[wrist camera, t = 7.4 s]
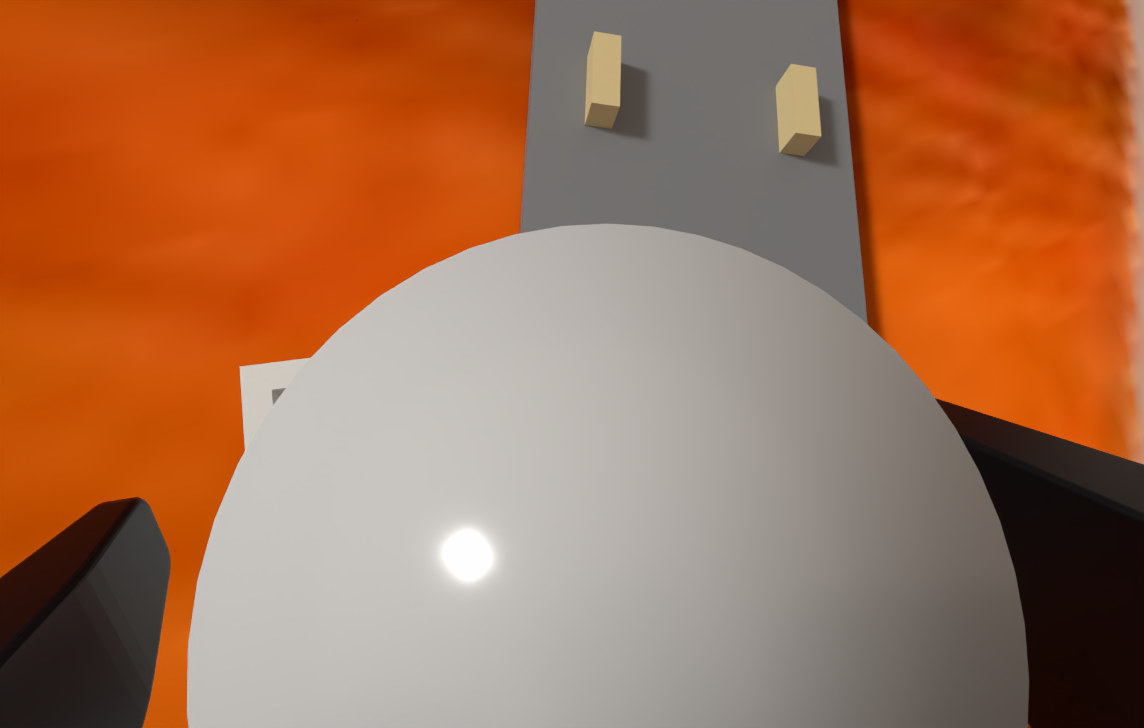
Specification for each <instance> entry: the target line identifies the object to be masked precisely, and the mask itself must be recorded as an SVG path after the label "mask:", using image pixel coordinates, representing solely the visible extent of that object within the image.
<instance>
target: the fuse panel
mask: <svg viewBox="0 0 1144 728" xmlns="http://www.w3.org/2000/svg"><path fill="white" fill-rule="evenodd" d="M590 224H622V225H637V226H652V227H659V228H664V229H669V230H675V231H680V232H685V233H690V234H696V235H700V236H703V237H706V238H710V239H713V240H716V241H719V242H722V243H726V244H729V245H732V246H735V247H738V248H742V249H744V250H746V251H749V252H751V253H753V254H755V255H758V256H760V257H762V258H764V259H767V260H769V261H771V262H773V263H776V264H778V265H780V266H782V267H784V268H786V269H788V270H789V271H791V272H793V273H795V274H796V275H798V276H800V277H801V278H803V279H805V280H806V281H808V282H810V283H812V284H813V285H815V286H817V287H818V288H820V289H822V290H824V291H825V292H826V293H828V294H829V295H830V296H832V297H833V298H834V299H836V300H837V301H838V302H840V303H841V304H842V305H844V306H845V307H846V308H848V309H849V310H850V311H852V312H853V313H854V314H856V315H857V316H858V317H860V318H861V319H862V320H863V321H864V322H865V323H866V324H867V325H868V322H867V311H866V301H865V290H864V280H863V269H862V259H861V248H860V238H859V227H858V216H857V206H856V195H855V185H854V174H853V164H852V153H851V142H850V132H849V121H848V111H847V100H846V90H845V79H844V69H843V58H842V47H841V37H840V26H839V16H838V5H837V0H535V14H534V29H533V44H532V58H531V73H530V87H529V102H528V117H527V131H526V146H525V161H524V175H523V190H522V204H521V219H520V233H526V232H531V231H537V230H542V229H548V228H554V227H559V226H572V225H590Z"/></svg>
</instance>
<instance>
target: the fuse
mask: <svg viewBox="0 0 1144 728" xmlns="http://www.w3.org/2000/svg"><path fill="white" fill-rule="evenodd" d="M1028 700H1029V672H1028V659H1027V646H1026V633H1025V623H1024V617H1023V612H1022V607H1021V601H1020V596H1019V591H1018V585H1017V580H1016V574H1015V570H1014V567H1013V563H1012V560H1011V557H1010V553H1009V550H1008V546H1007V543H1006V540H1005V536H1004V533H1003V530H1002V526H1001V523H1000V520H999V517H998V515H997V513H996V510H995V508H994V506H993V503H992V501H991V498H990V496H989V494H988V491H987V489H986V486H985V484H984V482H983V479H982V477H981V474H980V472H979V470H978V468H977V467H976V465H975V463H974V461H973V459H972V457H971V456H970V454H969V452H968V450H967V448H966V447H965V445H964V443H963V441H962V439H961V437H960V436H959V434H958V432H957V430H956V428H955V427H954V425H953V424H952V422H951V421H950V420H949V418H948V417H947V415H946V414H945V412H944V411H943V409H942V408H941V407H940V405H939V404H938V402H937V401H936V399H935V398H934V396H933V395H932V394H931V392H930V391H929V389H928V388H927V387H926V385H925V384H924V383H923V382H922V381H921V380H920V378H919V377H918V376H917V375H916V374H915V373H914V372H913V370H912V369H911V368H910V367H909V366H908V365H907V363H906V362H905V361H904V360H903V359H902V358H901V356H900V355H899V354H898V353H897V352H896V351H895V350H894V349H893V348H892V347H891V346H890V345H889V344H888V343H887V342H886V341H885V340H883V339H882V338H881V337H880V336H879V335H878V334H877V333H876V332H875V331H874V330H873V329H872V328H871V327H870V326H868V325H867V324H866V323H865V322H864V321H863V320H862V319H861V318H860V317H858V316H857V315H856V314H854V313H853V312H852V311H850V310H849V309H848V308H846V307H845V306H844V305H842V304H841V303H840V302H838V301H837V300H836V299H834V298H833V297H832V296H830V295H829V294H828V293H826V292H825V291H824V290H822V289H820V288H818V287H817V286H815V285H813V284H812V283H810V282H808V281H806V280H805V279H803V278H801V277H800V276H798V275H796V274H795V273H793V272H791V271H789V270H788V269H786V268H784V267H782V266H780V265H778V264H776V263H773V262H771V261H769V260H767V259H764V258H762V257H760V256H758V255H755V254H753V253H751V252H749V251H746V250H744V249H742V248H738V247H735V246H732V245H729V244H726V243H722V242H719V241H716V240H713V239H710V238H706V237H703V236H700V235H696V234H690V233H685V232H680V231H675V230H669V229H664V228H659V227H652V226H637V225H622V224H590V225H572V226H559V227H554V228H548V229H542V230H537V231H531V232H526V233H520V234H515V235H512V236H508V237H505V238H502V239H499V240H495V241H492V242H489V243H486V244H482V245H479V246H476V247H473V248H470V249H467V250H465V251H463V252H461V253H458V254H456V255H454V256H452V257H450V258H447V259H445V260H443V261H441V262H438V263H436V264H434V265H432V266H430V267H427V268H425V269H423V270H422V271H420V272H418V273H417V274H415V275H414V276H412V277H410V278H409V279H407V280H405V281H404V282H402V283H400V284H399V285H397V286H396V287H394V288H392V289H391V290H389V291H387V292H386V293H384V294H382V295H381V296H380V297H378V298H377V299H376V300H375V301H373V302H372V303H371V304H370V305H368V306H367V307H366V308H365V309H363V310H362V311H361V312H360V313H358V314H357V315H356V316H355V317H353V318H352V319H351V320H350V321H348V322H347V323H346V324H345V325H343V326H342V327H341V328H340V329H339V330H338V331H337V332H336V333H335V334H334V335H333V336H332V337H331V338H330V339H329V340H328V341H327V342H326V343H325V344H324V345H323V346H322V347H321V348H320V349H319V350H318V351H317V352H316V353H315V354H314V355H313V356H312V357H311V358H310V359H309V360H308V361H307V362H306V363H305V364H304V366H303V367H302V368H301V369H300V370H299V372H298V373H297V374H296V376H295V377H294V378H293V380H292V381H291V382H290V383H289V385H288V386H287V387H286V389H285V390H284V391H283V393H282V394H281V395H280V397H279V398H278V399H277V401H276V402H275V403H274V405H273V406H272V407H271V409H270V410H269V411H268V413H267V414H266V416H265V418H264V420H263V421H262V423H261V425H260V426H259V428H258V430H257V432H256V433H255V435H254V437H253V439H252V440H251V442H250V444H249V446H248V447H247V449H246V451H245V452H244V454H243V456H242V458H241V459H240V461H239V463H238V465H237V467H236V470H235V472H234V475H233V477H232V479H231V482H230V484H229V486H228V489H227V491H226V494H225V496H224V498H223V501H222V503H221V506H220V508H219V510H218V513H217V515H216V517H215V520H214V523H213V527H212V530H211V534H210V538H209V541H208V545H207V548H206V552H205V556H204V559H203V563H202V566H201V570H200V574H199V577H198V581H197V587H196V594H195V601H194V608H193V615H192V622H191V629H190V636H189V643H188V684H187V717H188V725H189V728H1028Z"/></svg>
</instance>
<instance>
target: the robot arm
mask: <svg viewBox="0 0 1144 728" xmlns="http://www.w3.org/2000/svg"><path fill="white" fill-rule="evenodd" d="M935 399H936V398H935ZM936 401H937V402H938V404H939V405H940V407H941V408H942V409H943V411H944V412H945V414H946V415H947V417H948V418H949V420H950V421H951V422H952V424H953V425H954V427H955V428H956V430H957V432H958V434H959V436H960V437H961V439H962V441H963V443H964V445H965V447H966V448H967V450H968V452H969V454H970V456H971V457H972V459H973V461H974V463H975V465H976V467H977V468H978V470H979V472H980V474H981V477H982V479H983V482H984V484H985V486H986V489H987V491H988V494H989V496H990V498H991V501H992V503H993V506H994V508H995V510H996V513H997V515H998V517H999V520H1000V523H1001V526H1002V530H1003V533H1004V536H1005V540H1006V543H1007V546H1008V550H1009V553H1010V557H1011V560H1012V563H1013V567H1014V570H1015V574H1016V580H1017V585H1018V591H1019V596H1020V601H1021V607H1022V612H1023V617H1024V623H1025V633H1026V646H1027V659H1028V672H1029V700H1028V724H1029V726H1030V727H1031V728H1144V465H1143V464H1140V463H1137V462H1134V461H1131V460H1128V459H1125V458H1121V457H1118V456H1115V455H1112V454H1109V453H1106V452H1103V451H1099V450H1096V449H1093V448H1090V447H1087V446H1084V445H1081V444H1077V443H1074V442H1071V441H1068V440H1065V439H1062V438H1059V437H1055V436H1052V435H1049V434H1046V433H1043V432H1040V431H1037V430H1033V429H1030V428H1027V427H1024V426H1021V425H1018V424H1015V423H1011V422H1008V421H1005V420H1002V419H999V418H996V417H993V416H989V415H986V414H983V413H980V412H977V411H974V410H971V409H967V408H964V407H961V406H958V405H955V404H952V403H949V402H945V401H942V400H939V399H936ZM170 562H171V561H170V554H169V550H168V547H167V545H166V542H165V540H164V538H163V535H162V533H161V531H160V529H159V526H158V524H157V522H156V519H155V517H154V515H153V512H152V510H151V508H150V506H149V504H148V503H147V502H146V501H145V500H144V499H141V498H139V497H134V498H127V499H121V500H115V501H108V502H103V503H101V504H99V505H97V506H95V507H94V508H93V509H91V510H90V511H89V512H87V513H86V514H85V515H83V516H82V517H81V518H79V519H78V520H77V521H75V522H74V523H73V524H71V525H70V526H69V527H67V528H66V529H65V530H64V531H62V532H61V533H60V534H58V535H57V536H56V537H54V538H53V539H52V540H50V541H49V542H48V543H46V544H45V545H44V546H42V547H41V548H40V549H38V550H37V551H36V552H34V553H33V554H32V555H30V556H29V557H28V558H26V559H25V560H24V561H22V562H21V563H20V564H18V565H17V566H16V567H14V568H13V569H12V570H10V571H9V572H8V573H6V574H5V575H4V576H2V577H1V578H0V728H142V727H143V724H144V720H145V716H146V712H147V708H148V704H149V700H150V696H151V691H152V685H153V680H154V674H155V668H156V661H157V654H158V648H159V641H160V635H161V628H162V621H163V615H164V608H165V602H166V595H167V588H168V582H169V575H170Z"/></svg>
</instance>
